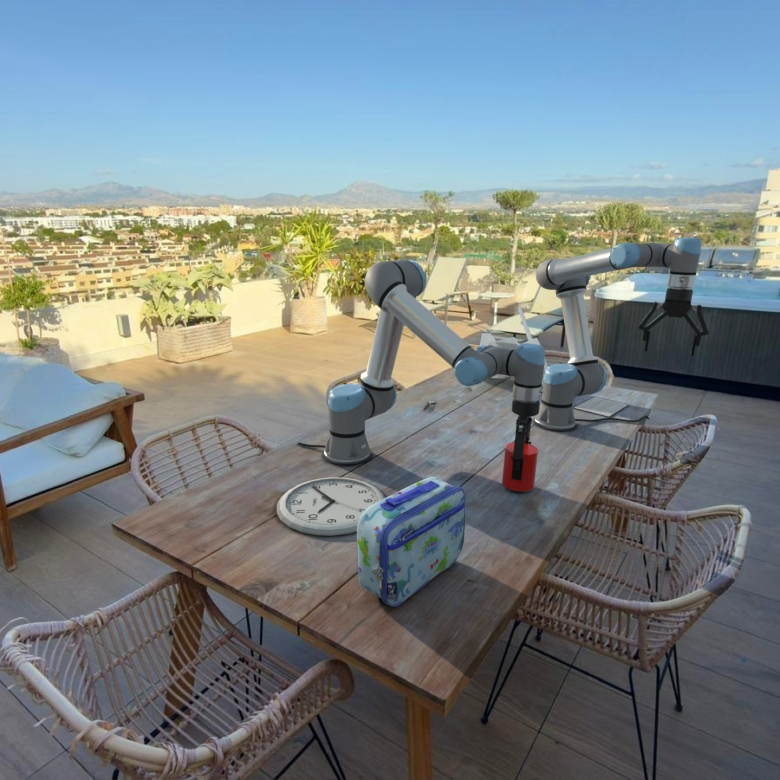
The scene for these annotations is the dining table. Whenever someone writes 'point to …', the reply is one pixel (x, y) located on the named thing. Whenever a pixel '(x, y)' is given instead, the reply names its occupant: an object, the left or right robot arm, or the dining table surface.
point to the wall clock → (327, 505)
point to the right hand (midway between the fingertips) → (668, 353)
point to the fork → (430, 402)
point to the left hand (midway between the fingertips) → (519, 472)
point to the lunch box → (410, 539)
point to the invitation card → (601, 406)
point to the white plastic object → (510, 339)
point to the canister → (527, 470)
